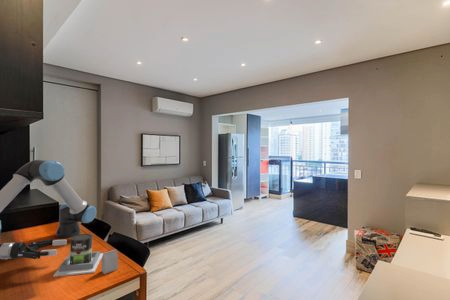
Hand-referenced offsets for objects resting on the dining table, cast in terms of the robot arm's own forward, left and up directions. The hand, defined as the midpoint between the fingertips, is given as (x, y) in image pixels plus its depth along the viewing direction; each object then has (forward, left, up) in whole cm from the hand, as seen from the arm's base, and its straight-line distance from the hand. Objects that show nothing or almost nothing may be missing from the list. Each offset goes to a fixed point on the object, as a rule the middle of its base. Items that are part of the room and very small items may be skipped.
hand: (61, 246), depth 126 cm
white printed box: (+10, +25, -11) cm, 29 cm away
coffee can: (0, +9, -10) cm, 13 cm away
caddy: (0, +9, -10) cm, 14 cm away
